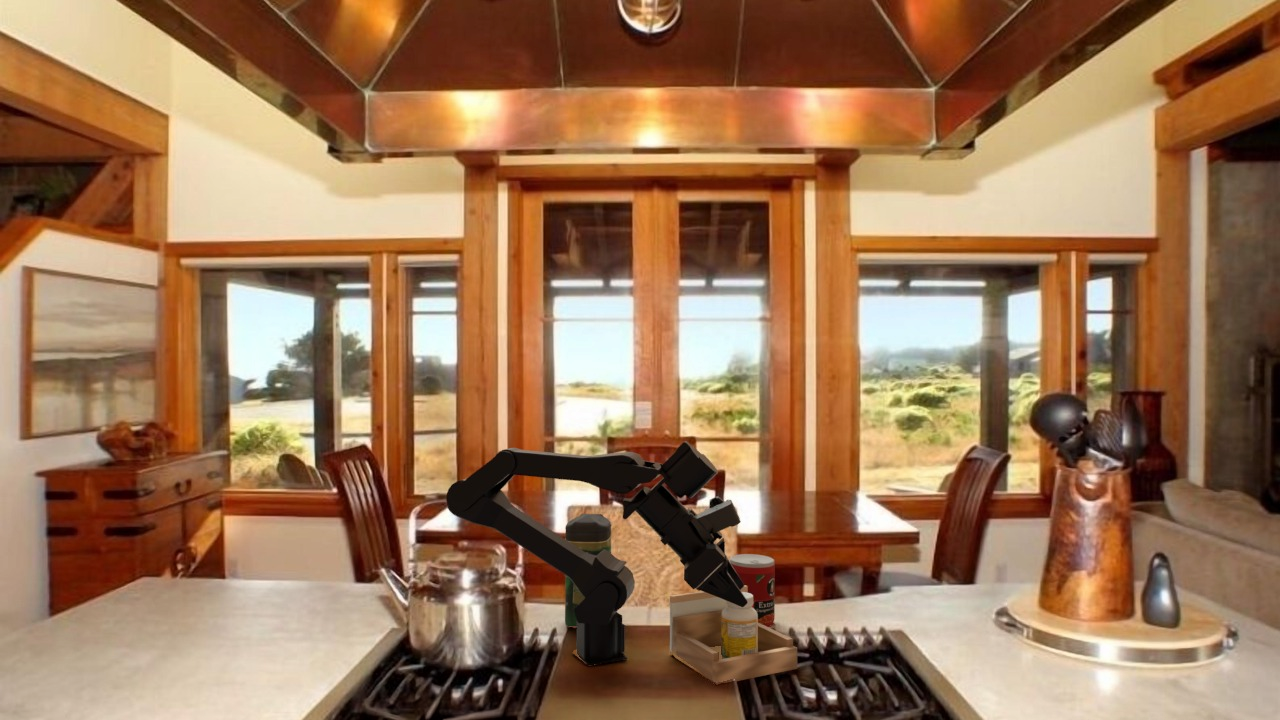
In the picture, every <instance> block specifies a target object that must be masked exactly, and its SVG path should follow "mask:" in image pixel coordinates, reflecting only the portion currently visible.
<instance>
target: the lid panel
mask: <svg viewBox="0 0 1280 720" xmlns="http://www.w3.org/2000/svg"><path fill="white" fill-rule="evenodd" d="M740 591H741V592H748V586H746V585H744V587H743V588H742V589H741V590H740ZM727 606H728V605H727V603H726V600H724V599H721V598H719V597H716V596H714V595H711V594H709V593H706V592H703V591H701V590H700V591H695V592H687V593H681V594H680V593H679V594H673V595H669V652H670V651H671V652H672V651H673V617H679V616H686V615H692V614H699V613H705V612H712V611H718V610H723V609H724V608H725V607H727Z"/></svg>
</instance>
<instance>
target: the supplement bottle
mask: <svg viewBox="0 0 1280 720" xmlns="http://www.w3.org/2000/svg"><path fill="white" fill-rule="evenodd" d="M742 594H743V595H744V597H745V598H746V600H747V601H748V603H747V604H746V605H745V606H744V607H740V606H738V605H736V604H733V603H731V602H728V601H726V603H727V605H728V606H727V607H725V608H724V609H723V611H722V619H721V622H722V629H721V630H722V633H721V634H722V635H721V636H722V637H721V655H722V659H725V658H731V657H736V656H741V655H746V654H752V653H757V652H758V614H757V612H756V610H755V609H753V608H752V607H751V606H753V595H752V594H750V593H747V592H742Z"/></svg>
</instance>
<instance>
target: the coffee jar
mask: <svg viewBox="0 0 1280 720" xmlns="http://www.w3.org/2000/svg"><path fill="white" fill-rule="evenodd" d="M564 535H565V538H564V539H565V540H567V541H569V542H570V543H572V544H573V545H575V546H576V547H578V548H579V549H581V550H583V551H584V552H586V553H588V554H592V555H596V556H597V555H598V554H599V553H600V552H601V551H603V550H604V549H605V550H607V551H609V552H610V553H611V554H612V524H611V521H610V519H608V518H607V517H605V516H604V514H601V513H580V514H579V515H578V516H576V517H574V518H572V519H570V520H569V521H568V522H567V523H566V525H565V534H564ZM564 578H565V579H564V580H565V582H564V584H565V589H564V591H565V593H564V594H565V595H564V596H565V597H564V598H565V599H564V600H565V603H564V604H565V605H564V623H565V626H566V627H568V628H569V626H577V619H576V616H575V613H574V609H575V607H576V606H577V605H578V604H579V603H580V602H581V601H582V600H583V599H584V598H585V597H584V596H583V595H582V594H581V593H580V592H579V590H578V589H577V587H576V586H575V585H574V583H573V582H572V580H571V579H570V578H569V577H567V576H566V575H565V577H564Z"/></svg>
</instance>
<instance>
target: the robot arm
mask: <svg viewBox="0 0 1280 720" xmlns="http://www.w3.org/2000/svg"><path fill="white" fill-rule="evenodd" d="M718 474H719V471H718V469H717V467H715V465H714V464H713V462H711V460H710V459H709V458H708V457H707V456H706V455H705V454H703V453H701V452H700V451H699V450H698V449H697V448H696V447H694V446H693V445H691V444H690V443H689V441H683V442H682V443H681V444H680V445H679V446H678V447H677V449H676V451H675V452H673V454H672V455H671V456H670V457H668V459H667V460H666V461H664V462H663V463H660V462H654V461H649V460H644V458H643V457H642V456H641V455H640V454H638V453H636V452H633V451H623V452H613V453H612V452H610V453H603V454H593V455H582V454H571V453H561V452H548V451H536V450H527V449H520V448H517V447H510V448H505V449H502V450H500V451H498V452H497V453H496V454H495V455H494V457H492V458H491V459H490V460H489V461H487V463H485V464H484V465H482V466H481V467H480V468H478V469H477V470H476V471H474V472H473V473H472V474H471V475H469V476H468V477H466V478H464V479H461V480H457V481H455V482H454V483H452V484H451V485H450V486H449V488H448V490H447V493H446V496H445V497H446V499H445V501H446V505H447V506H446V507H447V509H448V511H449V513H451V514H452V515H453V516H455V517H457V518H460V519H462V520H464V521H466V522H468V523H471V524H475V525H478V526H483V527H486V528H489V529H493V530H494V531H497V532H498V533H500V534H501V535H504V536H505V537H506V538H508V539H509V540H511V541H512V542H514V543H516V544H517V545H518V546H520V547H522V548H523V549H525V550H526V551H527V552H529V553H530V554H532V555H534V556H535V557H537V558H538V559H540V560H541V561H543V562H545V563H546V564H548V565H549V566H550V567H552V568H553V569H555V570H557V571H558V572H560V573H562V574H563V575H566V576H567V577H569V578H570V579H571V580H572V582H573V583H574V585H575V586H576V587H577V589H578V590H579V592H580V593H581V594H582V595H583V596H584V597H585V598H584V599H583V600H582V601H581V602H580V603H579V604H578V605H577V606H576V607H575V609H574V613H575V616H576V619H577V629H576V649H577V654H578V655H579V657H580V658H581V659H582V660H583V661H584V662H585V663H586V664H587V665H594V664H600V663H605V664H609V663H608V662H611V663H614V662H613V661H617V662H621V661H620V660H622V661H624V660H623V659H626V660H628V656H627V655H626V653H625V650H626V625H625V623H623V615H622V614H621V613H619V612H618V611H619V610H620V609H621V608H623V606H624V605H625V604H626V602H627V601H628V600H629V598H630V597H631V595H632V594H633V592H634V589H635V582H636V581H635V577H634V573H633V572H632V570H631V569H629V567H627V566H626V564H627V563H628V561H626V560H621V559H618V558H617V557H615V556H614V554H612V552H611V553H610V552H609V551H607V550H605V549H604V550H603V551H601V552H600V553H599V554H598V555H597V556H596V555H592V554H588V553H586V552H584V551H583V550H581V549H579V548H578V547H576V546H575V545H573V544H572V543H570V542H569V541H567V540H565V538H564V537H563V536H561V535H559V534H557V533H556V532H555V531H553V530H552V529H550V528H549V527H547V526H545V525H544V524H542V523H541V522H539V521H537V520H536V519H534V518H533V517H531V516H530V515H528V514H527V513H525V512H523V511H522V510H520V509H518V507H516V506H514V505H513V503H511V501H510V500H509V498H508V496H506V494H505V493H504V491H503V490H502V489H503V488H504V487H505V486H507V484H508V483H509V482H510V481H511V480H512V479H513V478H514V476H522V477H523V476H525V477H535V478H543V479H555V480H556V479H557V480H566V481H574V482H575V481H576V482H581V483H585V484H589V485H591V486H594V487H596V488H597V489H598V488H599V489H602V490H605V491H608V492H613V493H616V494H621V495H624V494H628V493H630V492H633V491H635V489H636V488H637V489H638V487H640V486H641V485H642V484H643V485H644V484H647V483H648V484H649V483H651V482H652V481H653V482H654V481H655V479H657V478H658V477H660V476H662V478H661V479H660V480H659V481H658V482H657V483H656V484H655V485H653V487H651V488H650V487H648V486H643V487H642V488H641V489H640V490H639V491H637V493H636V494H635V495H633V496H632V498H629V497H628V498H627V497H624V498H623V500H622V501H621V505H622V510H623V512H622V520H623V519H624V520H628V519H629V518H630V517H631V516H632V515H633V514H634V512H636V513H637V514H638V516H640V517H641V518H642V520H644V522H645V523H646V524H648V526H649V527H650V528H651V529H652V530H653V531H654V532H655V533H656V534H657V535H658V537H659V538H660V540H659V541H660V542H661V543H662V545H663V546H666V545H668V546H669V548H670V549H672V551H673V552H674V553H675V554H676V555H677V556H678V557H679V562H680V563H681V564H682V565H683V566H684V567H683V568H684V569H683V581H685V583H686V584H687V585H688V586H689V587H690V588H691V589H692V590H697V592H701V591H703V592H706V593H709V594H711V595H714V596H716V597H719V598H721V599H724V600H726V601H728V602H731V603H733V604H736V605H738V606H740V607H744V606H745V605H746V604H747V603H748V601H747V600H746V598H745V597H744V595H743V594H742V592H741V591H740V590H741V589H742V588H743V587H744V584H743V582H742V580H741V579H740V577H739V576H738V574H737V572H736V571H735V569H734V568H733V566H732V564H731V563H730V559H729V558H728V556H727V555H726V553H725V552H726V545H725V543H726V541H725V538H724V537H723V533H722V532H721V531H723V530H725V529H727V528H730V527H731V528H733V527H735V526H738V525H739V524H740V523H741V518H740V515H739V514H738V511H737V510H736V507H735V505H734V503H733V501H732V499H725V500H724V499H722V498H721V497H720V496H718V495H717V496H714V497H711V498H710V499H709V502H708V503H709V504H708V505H709V507H708V508H706V509H704V510H703V511H701V512H699V513H696V512H695V511H694V510H693V508H691V509H690V508H686V507H685V506H684V505H683V504H682V502H680V501H679V500H678V499H683V498H684V497H687V498H689V499H692V498H693V497H694V496H695V495H697V494H698V493H699V492H700V491H701V490H702V489H703V487H705V486H706V485H707V484H708V483H709V482H710V481H712V479H713V478H714V477H715V476H716V475H718ZM664 484H665V485H666V486H667V487H668V488H667V487H666V486H665V485H664ZM672 493H673V494H672ZM677 497H678V499H677ZM717 539H718V540H719V541H718V542H715V541H716V540H717ZM586 664H585V665H586ZM587 665H586V666H587ZM600 665H601V664H600ZM594 666H595V665H594Z"/></svg>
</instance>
